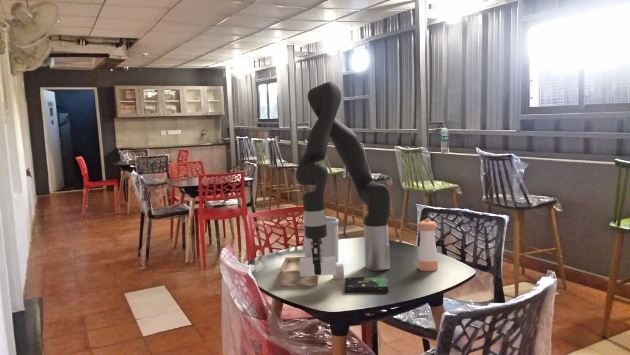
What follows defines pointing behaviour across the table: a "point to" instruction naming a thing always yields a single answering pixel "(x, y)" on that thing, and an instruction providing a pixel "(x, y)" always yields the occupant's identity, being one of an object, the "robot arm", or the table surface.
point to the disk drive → (366, 285)
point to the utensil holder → (326, 240)
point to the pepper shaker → (427, 246)
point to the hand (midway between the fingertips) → (318, 271)
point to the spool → (339, 272)
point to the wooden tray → (295, 274)
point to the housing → (326, 266)
